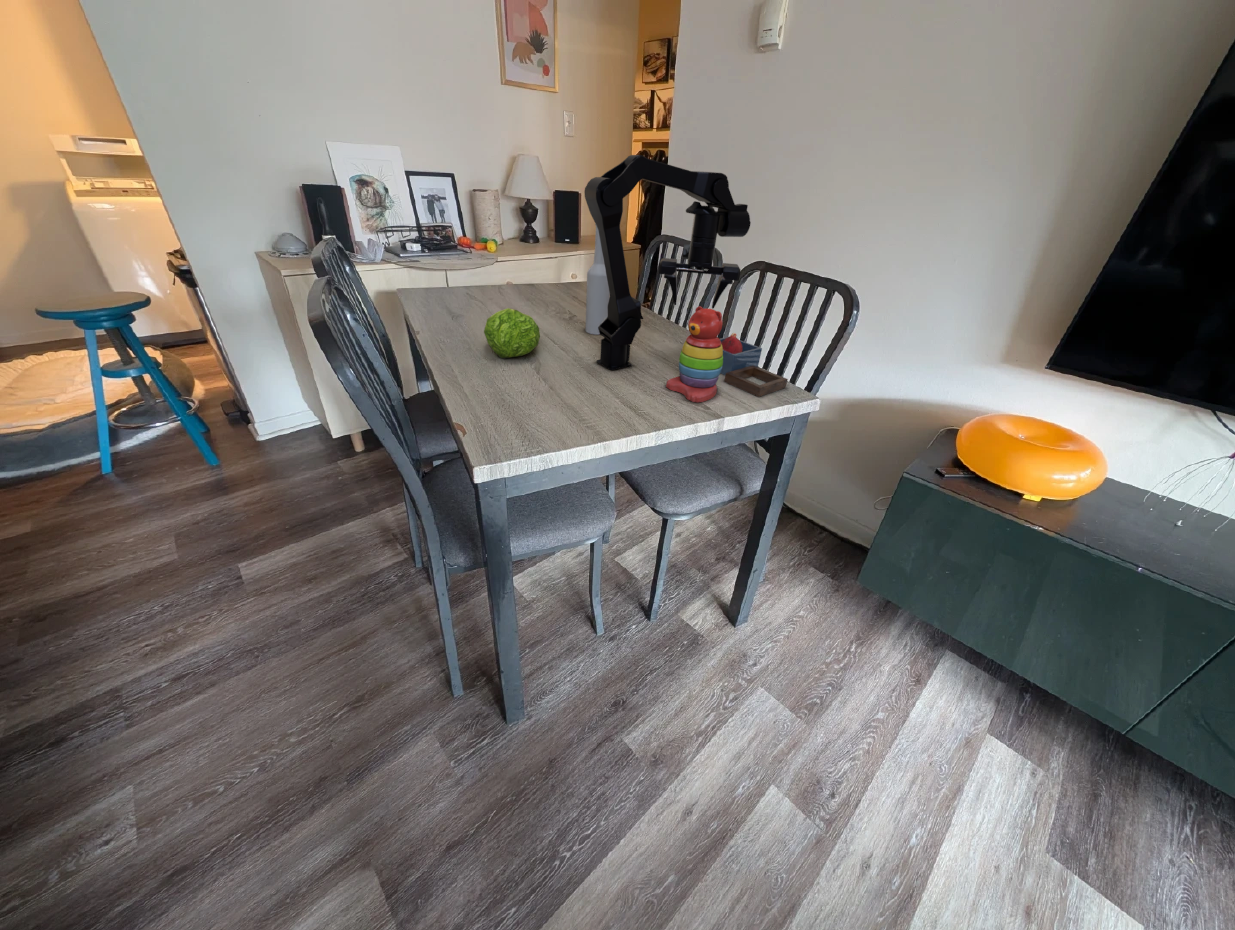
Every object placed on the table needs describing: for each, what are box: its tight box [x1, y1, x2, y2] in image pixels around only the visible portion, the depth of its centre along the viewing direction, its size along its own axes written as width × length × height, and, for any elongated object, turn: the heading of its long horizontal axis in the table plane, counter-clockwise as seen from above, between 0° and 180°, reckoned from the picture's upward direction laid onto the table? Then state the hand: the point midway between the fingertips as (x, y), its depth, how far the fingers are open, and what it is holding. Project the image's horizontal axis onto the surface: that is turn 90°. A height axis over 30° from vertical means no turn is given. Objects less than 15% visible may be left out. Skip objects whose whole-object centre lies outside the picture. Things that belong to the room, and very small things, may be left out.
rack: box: [723, 365, 789, 398], centre depth 109 cm, size 10×10×2 cm
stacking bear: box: [665, 305, 723, 403], centre depth 100 cm, size 11×10×18 cm
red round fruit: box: [721, 332, 743, 354], centre depth 116 cm, size 6×6×8 cm
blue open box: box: [719, 336, 763, 376], centre depth 117 cm, size 10×10×6 cm
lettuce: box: [483, 307, 541, 359], centre depth 119 cm, size 12×24×13 cm
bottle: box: [585, 223, 610, 336], centre depth 130 cm, size 7×7×28 cm
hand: (693, 306), depth 116 cm, fingers open, 9 cm apart
